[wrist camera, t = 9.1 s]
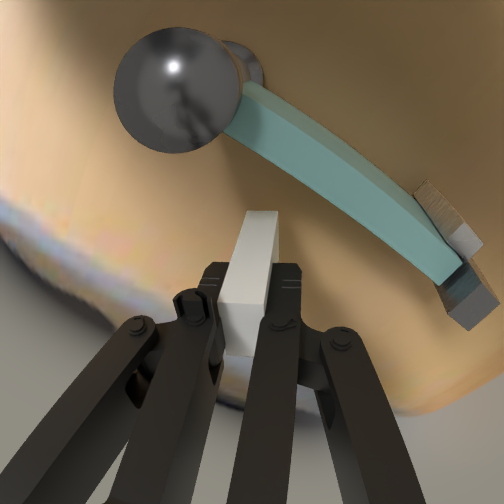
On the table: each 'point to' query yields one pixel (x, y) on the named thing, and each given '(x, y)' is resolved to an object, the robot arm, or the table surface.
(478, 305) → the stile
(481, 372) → the table surface
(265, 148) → the teal rectangular bar
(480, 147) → the table surface
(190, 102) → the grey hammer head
